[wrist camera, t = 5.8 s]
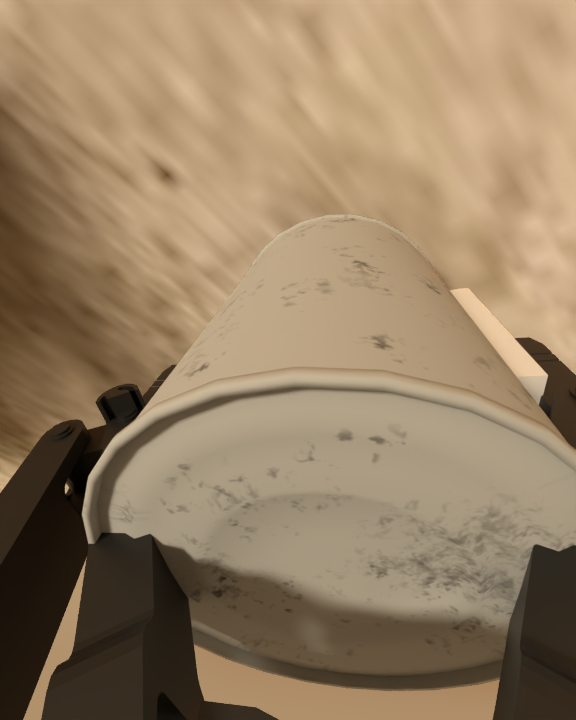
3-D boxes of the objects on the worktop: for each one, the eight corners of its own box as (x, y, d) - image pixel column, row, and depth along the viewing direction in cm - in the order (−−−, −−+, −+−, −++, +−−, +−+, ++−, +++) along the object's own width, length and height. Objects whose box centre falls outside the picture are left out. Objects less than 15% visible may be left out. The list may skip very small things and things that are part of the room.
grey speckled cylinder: (385, 418, 20) (435, 721, 9) (223, 365, 19) (85, 620, 9) (484, 257, 15) (838, 522, 4) (268, 180, 14) (70, 264, 4)
